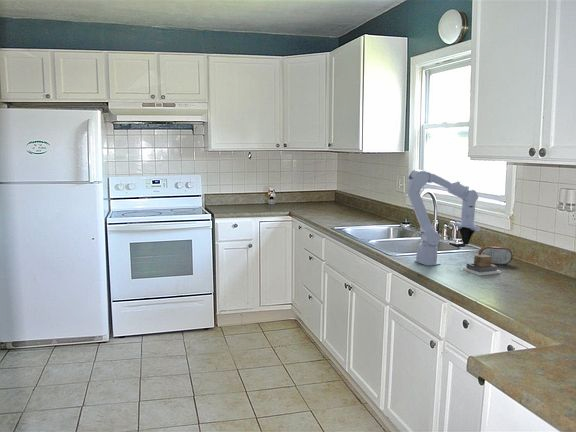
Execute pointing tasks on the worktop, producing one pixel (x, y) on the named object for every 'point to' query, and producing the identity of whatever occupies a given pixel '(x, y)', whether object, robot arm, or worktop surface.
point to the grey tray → (481, 269)
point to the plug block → (482, 260)
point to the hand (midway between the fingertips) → (465, 244)
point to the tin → (497, 254)
